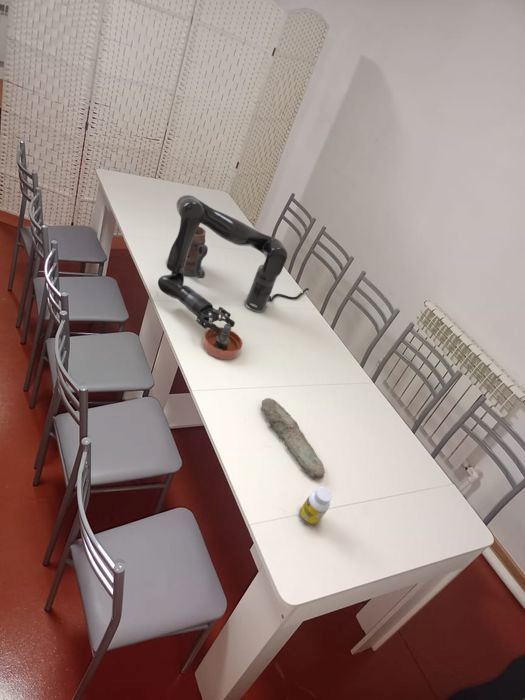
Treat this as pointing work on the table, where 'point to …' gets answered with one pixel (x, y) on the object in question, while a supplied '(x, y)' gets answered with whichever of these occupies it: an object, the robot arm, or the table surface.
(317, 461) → the long grey stone
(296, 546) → the table surface
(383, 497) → the table surface
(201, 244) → the tankard
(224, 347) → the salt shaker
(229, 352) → the bowl
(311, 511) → the pill bottle
